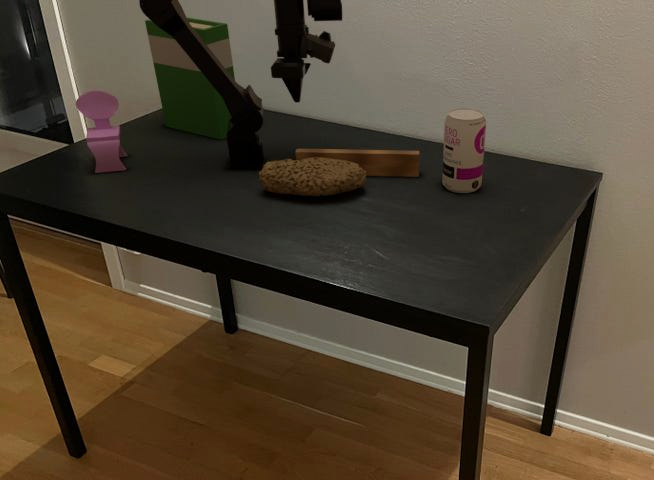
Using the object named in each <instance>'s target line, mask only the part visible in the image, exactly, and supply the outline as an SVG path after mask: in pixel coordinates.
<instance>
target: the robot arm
mask: <svg viewBox="0 0 654 480" xmlns="http://www.w3.org/2000/svg"><path fill="white" fill-rule="evenodd" d="M138 1H139V8H140V10H141V12H142V13H143V15H144V16H146V18H148V20H151V21H152V22H153V23H154V24H155V25H157V26H158V27H159V28H160V29H162V30H163V31H165V32H166V33H167V34H169V35H170V36H172V37H173V38H174V39H175V40H176V42H177V43H178V44H179V45H180V46H181V48H182V49H183V50H184V51H185V53H186V54H187V55H188V56H189V57H190V59H191V60H192V61H193V62H194V64H195V65H196V66H197V67H198V68H199V70H200V71H201V72H202V73H203V75H204V76H205V77H206V78H207V79H208V81H209V82H210V83H211V84H212V86H213V87H214V88H215V89H216V91H217V92H218V93H219V94H220V95H221V97H222V98H223V100H224V102H225V104H226V107H227V109H228V111H229V113H230V115H231V117H232V118H231V119H230V120H229V123H228V129H227V137H226V141H227V148H228V149H227V150H228V156H229V164H228V169H238V170H239V169H243V170H258V169H259V168H260V167H261V165H262V163H263V161H264V160H265V154H264V147H263V141H262V140H260V135H259V133H258V132H259V131H260V130H261V129H262V127H263V124H264V113H265V110H264V106H263V99H262V98H261V97H259V95H257V94H256V92H255V90H254V88H253V86H251V84H248V85H247V86H246V88H245V87H243V86H242V85H241V84H239V83H238V82H237V81H236V79H235V80H234V79H233V78H232V76H231V75H230V74H229V73H228V71H227V70H226V69H225V68H224V66H223V65H222V64H221V63H220V61H219V60H218V59H217V57H216V56H215V55H214V54H213V52H212V51H211V50H210V49H209V47H208V46H207V45H206V44H205V42H204V41H203V40H202V39H201V37H200V36H199V35H198V33H197V32H196V31H195V30H194V28H193V27H192V26H191V25H190V23H189V21H188V19H187V15H186V13H185V11H184V9H183V6H182V5H181V3H180V1H179V0H138ZM306 3H307V4H306V7H307V16H308V17H310V18H312V19H313V22H342V21H343V3H342V0H306ZM273 6H274V16H275V29H274V36H277V37H276V38H277V48H278V49H277V51H276V57H277V58H276V59H275V60H274V62H273V63H272V64H271V66H270V73H271V78H273V79H281V80H282V82H283V83H284V85H285V87H286V89H287V91H288V92H289V95H290V96H291V98H292V100H293V102H294V103H300V102H301V97H302V89H303V84H304V83H303V82H304V81H303V80H304V77H305V75H307V73H308V71H309V69H310V67H311V65H312V63H311V62H305V59H308V56H309V58H310V59H312V58H313V59H314V58H315V59H317V60H319V61H321V62H322V63H324V64H330V63H331V61H332V58H333V54H334V51H335V49H336V48H335V47H336V43H335V41H333V40H332V36H331V33H330V32H328V31H326V30H323V31H322V32H321V33H320V34H319V35H318V34H312V33H311V32H310V29H309V26H308V24H306V17H305V16H306V15H305V4H304V0H273Z"/></svg>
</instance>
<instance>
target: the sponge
mask: <svg viewBox="0 0 654 480" xmlns="http://www.w3.org/2000/svg"><path fill="white" fill-rule="evenodd" d="M258 176H259V177H258V178H259V180H258V181H259V182H260V185H261V186H262V187H263V190H265V191H266V192H269V193H275V194H281V195H294V196H303V197H304V196H305V197H306V196H307V197H322V196H323V197H326V196H334V195H339V194H343V193H347V192H352V191H354V190H356V189H360V188H361V187H364V186H366V185H367V183H368V181H367V176H366V171H364V170H363V169H362V168H360V165H358V164H357V163H354V162H349V161H346V160H345V161H344V160H338V159H331V158H321V157H315V158H305V159H301V160H296V159H295V160H293V159H292V158H284V159H282V160H272V161H267V162H266V163H265V164H263V167H262V169H261V170H260V171H258Z"/></svg>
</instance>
